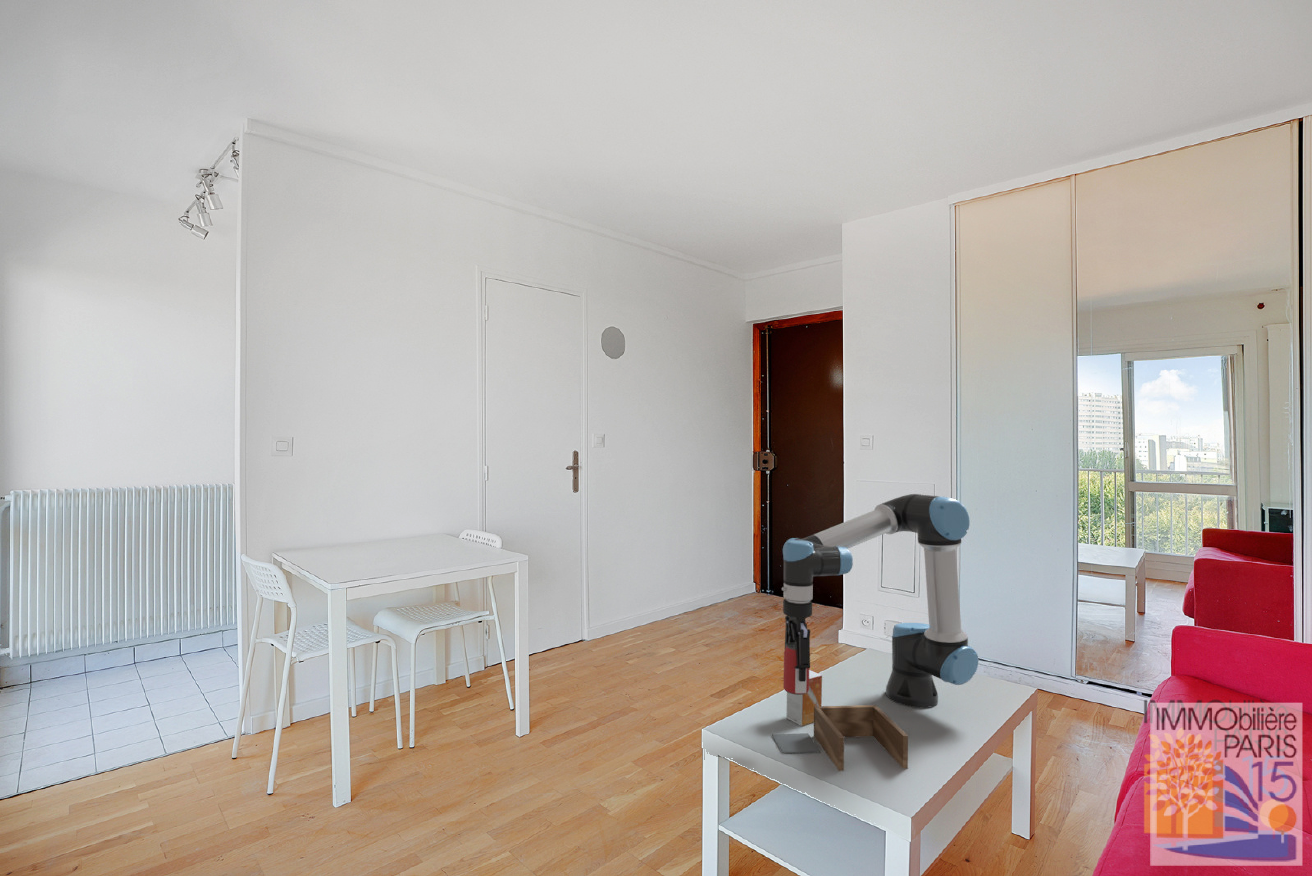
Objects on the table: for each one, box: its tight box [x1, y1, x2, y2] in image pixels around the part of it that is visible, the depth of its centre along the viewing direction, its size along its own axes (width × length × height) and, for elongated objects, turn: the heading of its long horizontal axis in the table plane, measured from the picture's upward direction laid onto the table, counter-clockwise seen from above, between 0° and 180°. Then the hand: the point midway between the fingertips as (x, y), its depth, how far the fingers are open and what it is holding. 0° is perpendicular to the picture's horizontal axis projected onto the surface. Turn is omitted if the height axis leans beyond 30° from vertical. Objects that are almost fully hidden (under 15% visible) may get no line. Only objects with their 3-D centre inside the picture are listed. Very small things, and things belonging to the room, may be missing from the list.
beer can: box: [782, 642, 810, 695], centre depth 167 cm, size 7×7×12 cm
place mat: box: [771, 732, 822, 755], centre depth 167 cm, size 10×10×1 cm
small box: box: [785, 669, 823, 727], centre depth 182 cm, size 8×6×13 cm
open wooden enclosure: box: [813, 704, 909, 772], centre depth 163 cm, size 17×18×8 cm
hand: (796, 687), depth 167 cm, fingers closed on beer can, 7 cm apart
